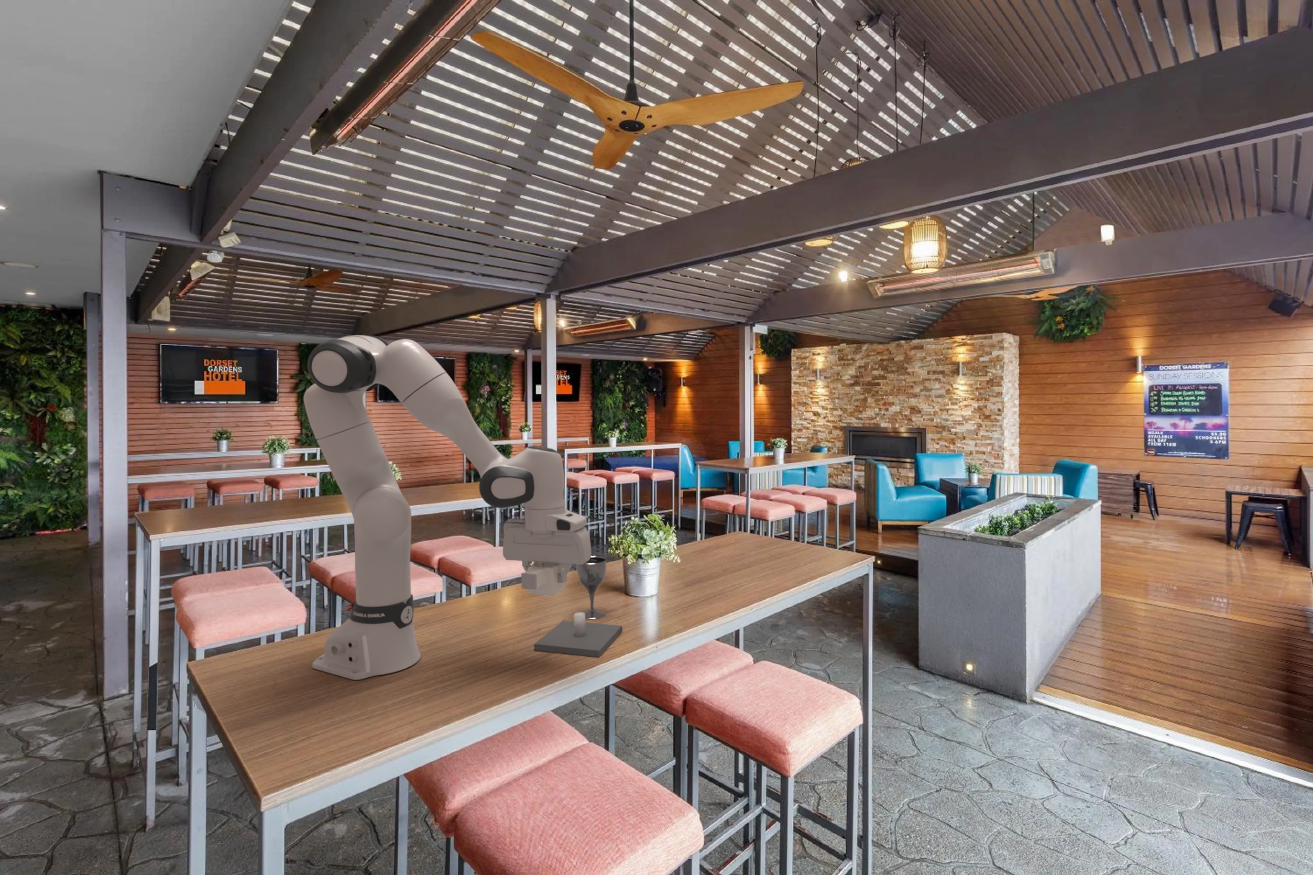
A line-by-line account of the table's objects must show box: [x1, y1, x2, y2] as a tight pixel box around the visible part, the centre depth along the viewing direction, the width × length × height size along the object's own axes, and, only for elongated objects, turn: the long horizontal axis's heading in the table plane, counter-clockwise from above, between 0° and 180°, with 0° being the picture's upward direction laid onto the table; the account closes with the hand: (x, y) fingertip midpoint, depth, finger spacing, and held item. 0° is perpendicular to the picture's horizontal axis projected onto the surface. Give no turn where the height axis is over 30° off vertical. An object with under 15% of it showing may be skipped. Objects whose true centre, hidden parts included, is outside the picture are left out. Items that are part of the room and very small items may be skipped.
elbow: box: [520, 562, 566, 597], centre depth 131 cm, size 11×6×6 cm, turn 163°
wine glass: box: [576, 555, 607, 620], centre depth 163 cm, size 8×8×15 cm
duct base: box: [533, 611, 623, 658], centre depth 145 cm, size 16×16×6 cm
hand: (547, 581), depth 134 cm, fingers closed on elbow, 6 cm apart
